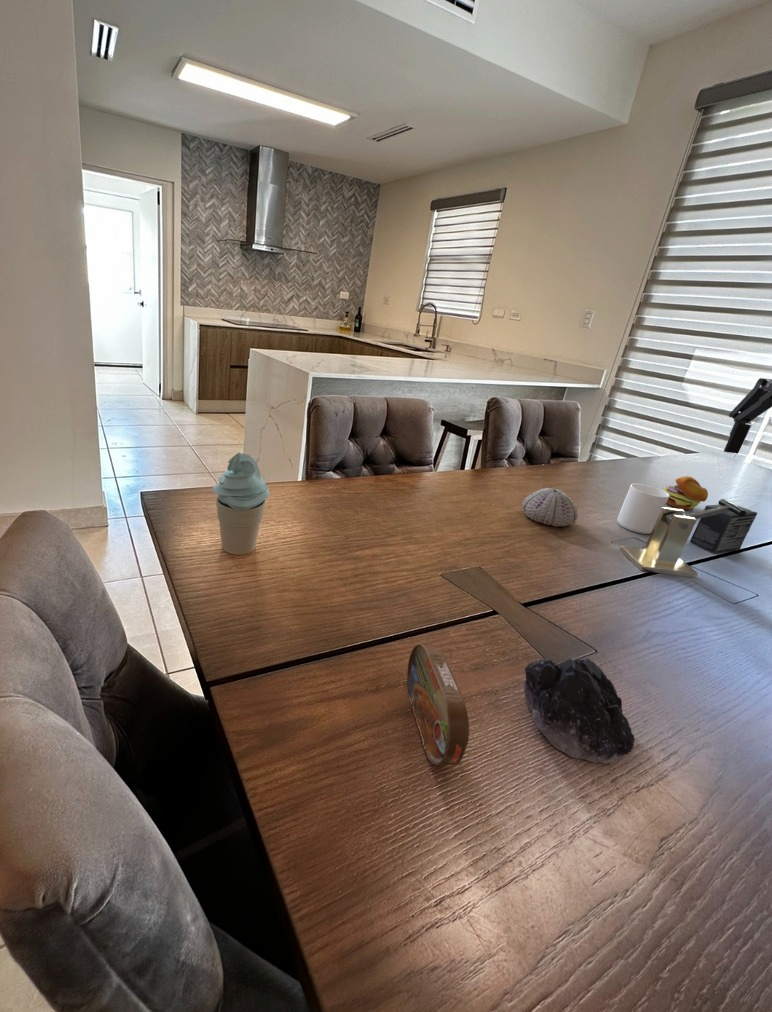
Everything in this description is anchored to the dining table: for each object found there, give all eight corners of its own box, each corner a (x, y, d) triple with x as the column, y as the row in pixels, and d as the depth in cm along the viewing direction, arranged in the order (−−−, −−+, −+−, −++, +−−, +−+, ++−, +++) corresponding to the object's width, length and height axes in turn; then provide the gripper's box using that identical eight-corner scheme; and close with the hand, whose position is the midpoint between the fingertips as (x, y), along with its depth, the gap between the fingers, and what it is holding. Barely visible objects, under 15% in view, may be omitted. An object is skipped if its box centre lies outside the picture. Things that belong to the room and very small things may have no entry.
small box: (713, 537, 124) (730, 501, 120) (740, 550, 118) (760, 513, 114) (687, 541, 120) (704, 504, 116) (714, 554, 114) (733, 515, 110)
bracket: (670, 556, 110) (693, 507, 106) (696, 578, 102) (722, 526, 97) (619, 550, 111) (639, 500, 106) (640, 570, 102) (664, 518, 97)
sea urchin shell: (581, 534, 116) (592, 505, 113) (525, 525, 118) (534, 496, 115) (564, 512, 128) (574, 485, 125) (513, 504, 130) (522, 477, 127)
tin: (402, 678, 65) (413, 630, 62) (424, 679, 66) (437, 631, 63) (432, 783, 52) (449, 728, 48) (460, 783, 52) (478, 729, 49)
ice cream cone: (274, 542, 96) (281, 449, 88) (243, 567, 86) (248, 465, 79) (232, 528, 99) (236, 437, 92) (198, 550, 90) (200, 451, 82)
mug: (660, 526, 127) (676, 490, 123) (648, 538, 119) (665, 499, 115) (625, 514, 132) (639, 478, 128) (611, 524, 124) (626, 487, 120)
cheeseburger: (661, 493, 152) (682, 468, 147) (695, 514, 146) (718, 488, 140) (650, 499, 145) (672, 472, 140) (686, 520, 139) (710, 493, 134)
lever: (725, 505, 103) (725, 496, 102) (746, 517, 98) (746, 507, 97) (661, 520, 106) (660, 511, 105) (678, 533, 100) (677, 523, 99)
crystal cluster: (637, 729, 63) (661, 666, 60) (619, 792, 53) (646, 720, 50) (535, 678, 71) (551, 620, 68) (502, 724, 61) (519, 659, 58)
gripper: (736, 349, 102) (696, 443, 110) (849, 365, 79) (788, 482, 87) (770, 353, 102) (728, 446, 110) (894, 370, 79) (829, 486, 87)
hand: (755, 462), depth 99 cm, fingers open, 13 cm apart
